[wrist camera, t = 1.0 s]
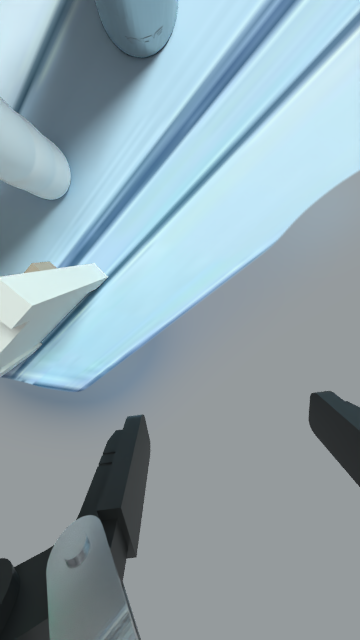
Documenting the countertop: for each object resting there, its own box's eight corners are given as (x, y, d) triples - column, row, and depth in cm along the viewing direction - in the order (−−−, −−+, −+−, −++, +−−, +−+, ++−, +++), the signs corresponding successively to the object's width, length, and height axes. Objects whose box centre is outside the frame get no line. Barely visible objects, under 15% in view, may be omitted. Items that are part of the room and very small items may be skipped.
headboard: (-6, 325, 34) (-182, 397, 17) (69, 238, 29) (-73, 220, 13) (33, 353, 36) (-90, 441, 19) (108, 276, 32) (32, 305, 15)
